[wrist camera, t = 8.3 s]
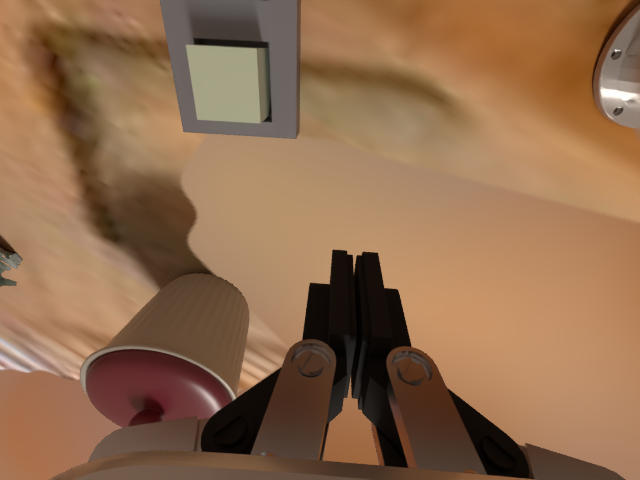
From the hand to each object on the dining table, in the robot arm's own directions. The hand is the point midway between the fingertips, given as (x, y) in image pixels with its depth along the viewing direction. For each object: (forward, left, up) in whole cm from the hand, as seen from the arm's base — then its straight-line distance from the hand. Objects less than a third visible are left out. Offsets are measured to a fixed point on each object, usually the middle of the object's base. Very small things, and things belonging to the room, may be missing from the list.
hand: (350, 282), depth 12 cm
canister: (+19, +28, -27) cm, 43 cm away
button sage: (+11, -4, -26) cm, 29 cm away
